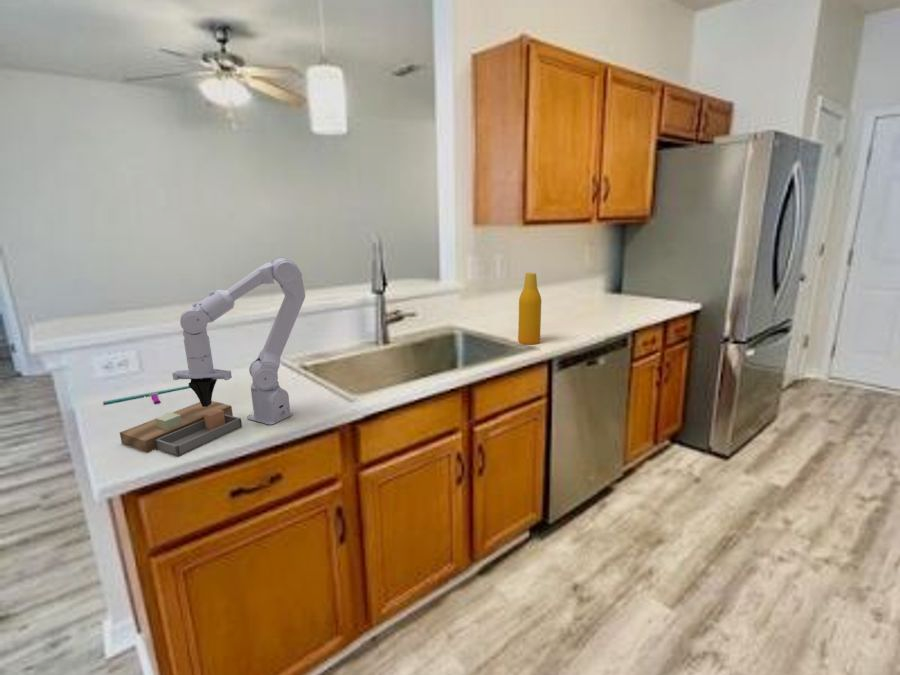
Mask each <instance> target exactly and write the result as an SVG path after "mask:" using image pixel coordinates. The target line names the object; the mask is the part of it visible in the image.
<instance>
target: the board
mask: <svg viewBox="0 0 900 675" xmlns="http://www.w3.org/2000/svg"><path fill="white" fill-rule="evenodd" d="M215 409H220V410H224V414H226V415H230V416H233V415H234V414H233V408H232V405H230V404H227V403H222V402H219V401H218V402H217V401H214V400H211V404H210V405H209V406H208V407H202V404H201V402H200V401H198V402H196V403H193V404H191V405H189V406H186V407H183V408H180V409H178V410H176V411H172V412H171V413H175V414H178V415H181V420H182V425H179V426H177V427H174V428H172V429H169V430H164V429H161V428H158V427H157V424H156V418H154V419H151V420H149V421H147V422H144V423H143V422H142V423H141V424H139V425H136V426H133V427H131V428H128V429H125V430H123V431H120V432H119V436H120V442H121V444H122V445H124V446H127V447H130V448H133V449H136V450H138V451H142V452H143V453H147V454H148V453H150V452H153V451H154V450H157V449H156V444H155V440H156V439H158V438H161V437H163V436H165V435H168V434H170V433H173V432H175V431H177V430H180V429H182V428H185V427H187V426H189V425H192V424H194V423H197V422H199V421H201V420H204V414H206V413H208V412H211V411H213V410H215ZM152 450H153V451H152Z"/></svg>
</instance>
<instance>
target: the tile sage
mask: <svg viewBox="0 0 900 675" xmlns="http://www.w3.org/2000/svg"><path fill="white" fill-rule="evenodd" d="M155 419H156V424H157V427H158V428H161V429H164V430H169V429H172V428H174V427H177V426H179V425H182V420H181V415H178V414H175V413H172V412H171V411H170V412H168V413H165V414H163V415H160V416H158V417H155Z"/></svg>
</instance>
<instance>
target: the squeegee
mask: <svg viewBox="0 0 900 675" xmlns="http://www.w3.org/2000/svg"><path fill="white" fill-rule="evenodd" d="M189 388H190V387H189V385H184V386H179V387H175V388H168V389H163V390H158V391H152V392H148V393H147V392H146V393H140V394H136V395H131V396H126V397H125V396H124V397H120V398H115V399H110V400H104V401H103V402H102V404H103V406H106V405H112V404H117V403H121V402H126V401H130V400H136V399H139V397H140V398H144V396H145V397H148V398H149V397H150V396H151V397H150V398H151V400H152V401H153V405H157V404H158V405H159V404H161V403H162V402H161V400H160V399H159V394H164V393H169V392H175V391H179V390H184V389H189ZM190 389H191V388H190Z"/></svg>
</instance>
